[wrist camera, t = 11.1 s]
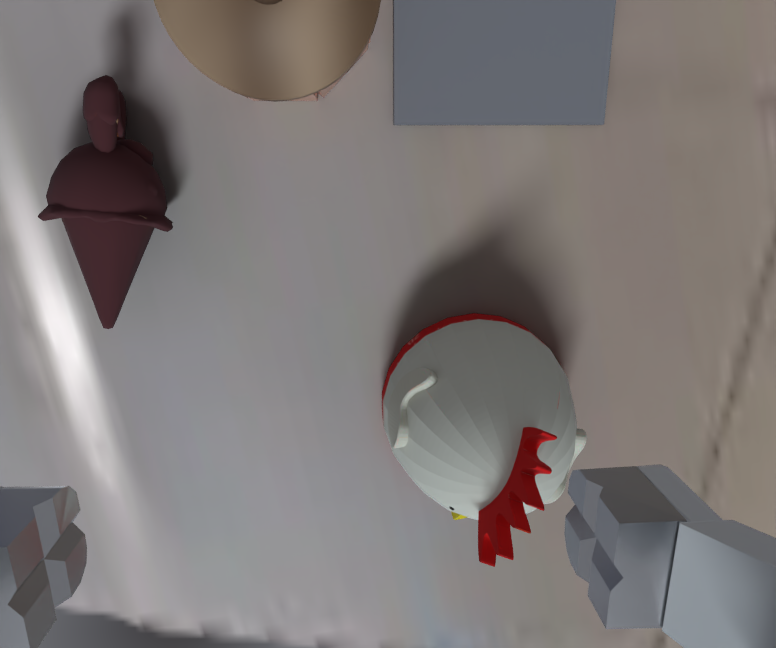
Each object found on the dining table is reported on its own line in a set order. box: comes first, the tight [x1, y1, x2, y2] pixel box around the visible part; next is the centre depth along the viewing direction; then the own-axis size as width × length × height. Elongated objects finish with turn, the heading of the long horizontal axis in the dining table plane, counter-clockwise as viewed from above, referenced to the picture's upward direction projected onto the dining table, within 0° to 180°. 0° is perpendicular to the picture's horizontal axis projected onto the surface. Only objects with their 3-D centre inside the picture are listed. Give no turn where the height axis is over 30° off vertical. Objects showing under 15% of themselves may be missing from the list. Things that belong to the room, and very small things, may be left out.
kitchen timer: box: [382, 313, 587, 567], centre depth 36 cm, size 14×14×15 cm
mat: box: [393, 0, 616, 125], centre depth 35 cm, size 14×12×1 cm
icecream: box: [38, 75, 173, 329], centre depth 35 cm, size 7×7×15 cm
